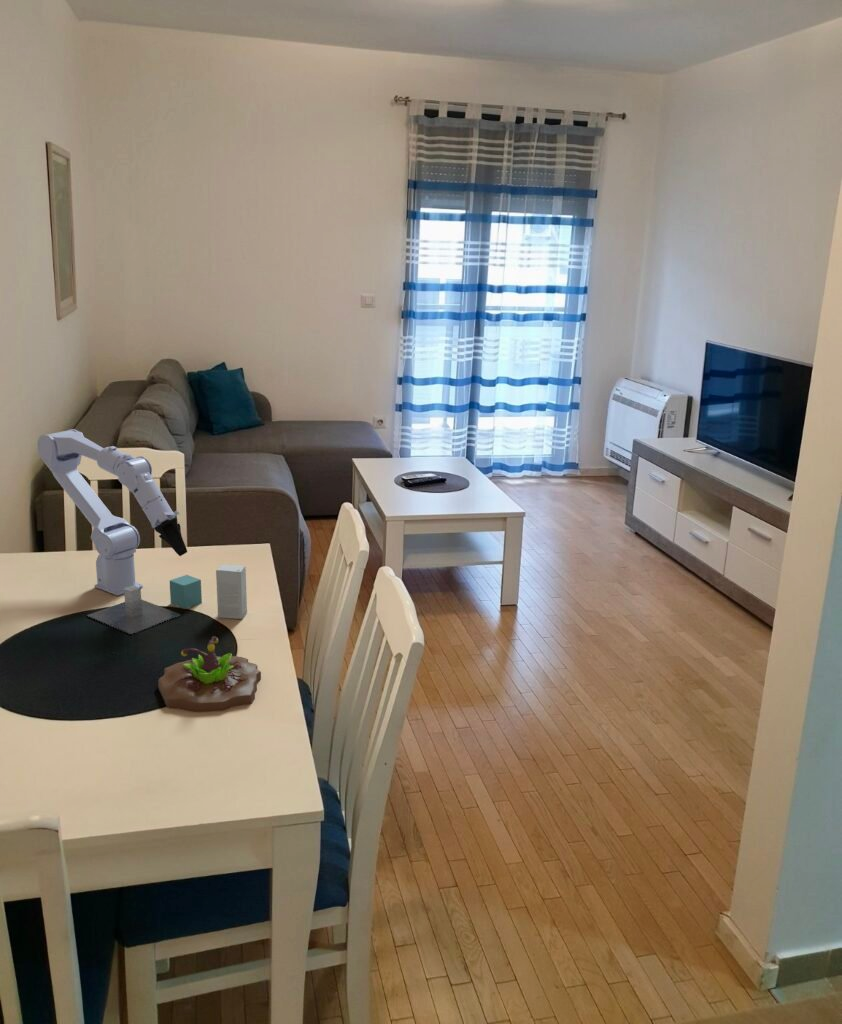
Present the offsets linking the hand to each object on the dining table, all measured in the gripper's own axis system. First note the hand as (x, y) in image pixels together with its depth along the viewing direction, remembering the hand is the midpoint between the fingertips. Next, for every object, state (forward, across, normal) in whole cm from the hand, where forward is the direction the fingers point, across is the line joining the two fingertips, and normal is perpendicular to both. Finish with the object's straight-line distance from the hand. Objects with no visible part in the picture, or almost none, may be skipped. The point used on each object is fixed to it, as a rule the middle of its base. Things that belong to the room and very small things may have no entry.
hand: (182, 551), depth 213 cm
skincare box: (+19, 0, -2) cm, 19 cm away
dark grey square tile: (+7, +2, +17) cm, 19 cm away
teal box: (+10, +8, +5) cm, 14 cm away
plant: (+32, -31, +9) cm, 46 cm away
